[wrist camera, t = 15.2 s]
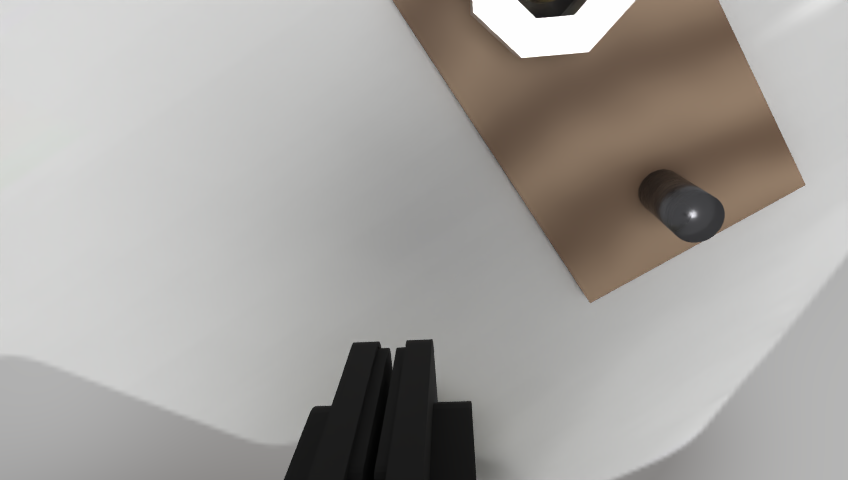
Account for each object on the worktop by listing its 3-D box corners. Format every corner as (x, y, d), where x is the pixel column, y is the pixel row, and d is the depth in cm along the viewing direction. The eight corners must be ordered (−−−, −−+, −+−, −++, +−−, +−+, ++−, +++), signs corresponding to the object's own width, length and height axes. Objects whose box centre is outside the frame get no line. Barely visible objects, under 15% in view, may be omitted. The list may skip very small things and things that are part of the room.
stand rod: (674, 215, 30) (713, 246, 26) (632, 207, 30) (664, 237, 26) (689, 173, 29) (732, 199, 25) (646, 165, 29) (682, 189, 25)
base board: (792, 179, 30) (805, 185, 29) (585, 293, 33) (590, 303, 32) (614, -193, 25) (622, -203, 23) (385, -13, 28) (383, -15, 27)
